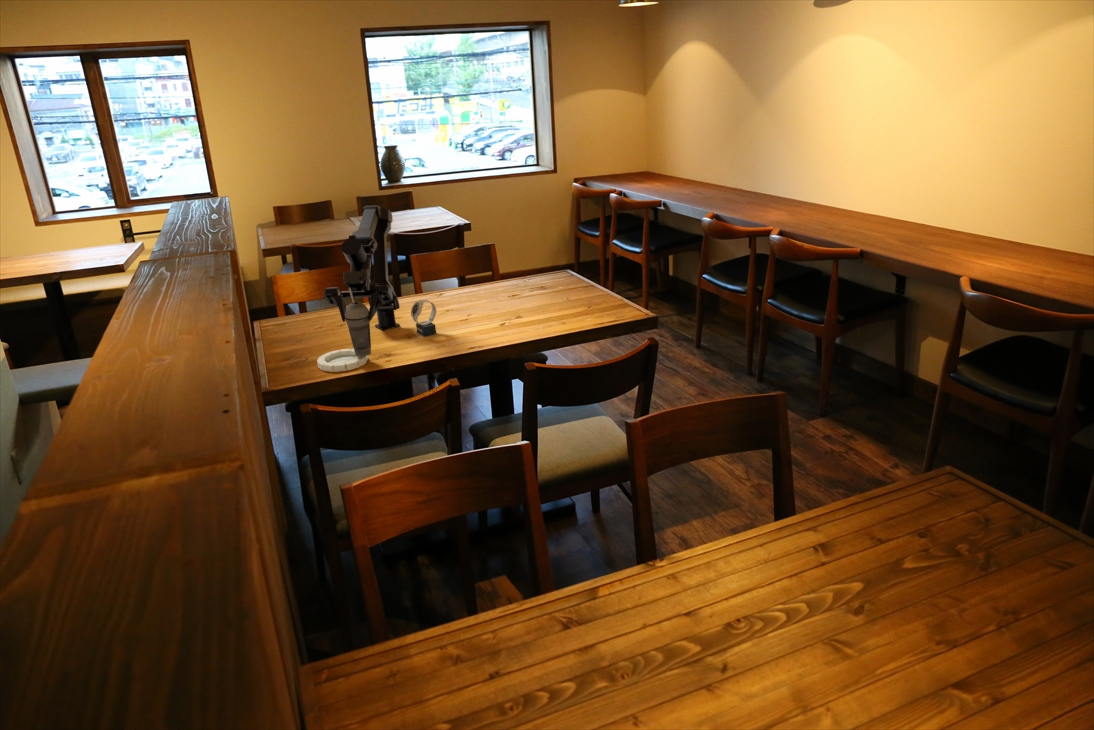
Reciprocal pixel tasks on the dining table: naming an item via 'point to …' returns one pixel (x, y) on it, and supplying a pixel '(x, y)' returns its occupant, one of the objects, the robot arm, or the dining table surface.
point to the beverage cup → (359, 327)
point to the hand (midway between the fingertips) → (356, 320)
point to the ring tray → (340, 360)
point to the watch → (427, 326)
